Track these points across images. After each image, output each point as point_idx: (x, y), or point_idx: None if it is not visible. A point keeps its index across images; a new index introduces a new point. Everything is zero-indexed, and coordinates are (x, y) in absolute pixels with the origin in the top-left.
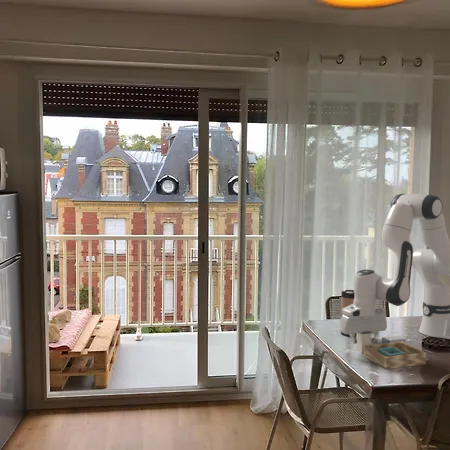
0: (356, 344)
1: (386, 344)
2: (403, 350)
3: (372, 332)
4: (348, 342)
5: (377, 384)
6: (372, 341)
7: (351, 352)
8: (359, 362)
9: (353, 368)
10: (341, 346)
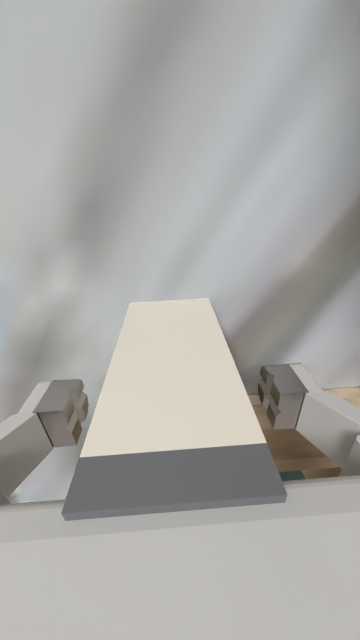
0: (122, 331)
1: (312, 468)
2: None
3: (353, 446)
4: (162, 18)
5: None
6: (265, 398)
7: (73, 335)
8: (67, 459)
9: (14, 499)
10: (21, 168)
